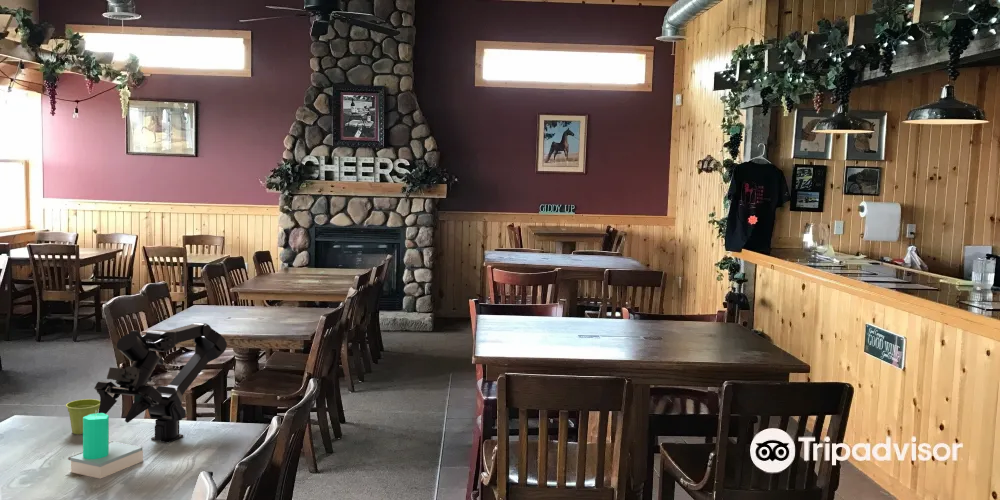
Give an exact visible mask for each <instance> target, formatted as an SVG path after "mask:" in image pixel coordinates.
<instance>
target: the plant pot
mask: <svg viewBox="0 0 1000 500" xmlns="http://www.w3.org/2000/svg"><path fill="white" fill-rule="evenodd" d="M99 406H100V399H96V398H95V399H94V398H86V399H85V398H84V399H82V398H81V399H76V400H72V401H69V402H68V403H66V404H65V408H67V412H68V414H69V419H70V427H71V433H72V434H74V435H83V417H85V416H87V415H90V414H96V413H98V412H99Z"/></svg>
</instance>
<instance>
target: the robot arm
mask: <svg viewBox="0 0 1000 500" xmlns="http://www.w3.org/2000/svg"><path fill="white" fill-rule="evenodd" d="M190 340H192V341H193V343H194V344H195V346H194V354H193V355H192V356H191V357H190V358H189V360H188V361H187V362H186V363H185V365H183V367H182V368H181V369H180V371H178V373H177V374H176V376H175V377H174V378H173V379H172V380H171V382H169V384H167V386H166V385H165V386H164V385H158V386H157V387H154V386H153V385H146V384H147V382H148V383H151V382H152V380H153V378H152V377H151V375H152V373H153V372H154V370H155V369H156V366H157V365H164V359H163V355H162V354H158V353H157V352H164V353H165V352H169V351H170V350H172V349H174V348H175V347H176V345H177V344H180V343H183V342H188V341H190ZM227 347H228V342H227V341H226V339H225V337H224V336H222V334H221V333H219V332H218V331H216V330H214V329H213V328H212V327H211V325H209V324H208V323H205V322H193V323H191V324H187V325H184V326H180V327H175V328H173V329H169V330H166V329H150V330H147V331H146V332H145V334H144V335H141V333H140V331H138V330H132V329H131V331H130V332H129V333H128V334H127V333H126V334H125V335H123V336H122V337H121V338H119V339H118V341H117V343H116V349H118V351H119V352H120V353H122V355H124V356H125V358H127V360H129V361H131V362H132V363H131V365H130V366H126V367H125V368H120V367H112V366H111V367H109V369H108V372H107V376H106V379H107V380H110V381H107V380H100V381H97V383H96V385H94V387H93V389H94V390H95V391H96V393H97V394H98V395H99V398H100V399H99V400H100V406H99V409H98V413H104V414H106V415H107V414H108V412H109V411H110V410H111V409H112V407H114V406H115V404H116V403H117V402H118V400H117V399H118V398H119V397H120V396H121V395H122V396H130V397H131V396H132V397H133V403H132V405H131V407H130V408H129V410H128V412H127V414H126V417H125V420H124V422H126V423H127V424H128V423H130V422H131V421H133V420H134V419H135V418H137V417H138V416H139V415H140V414H142V413H143V412H145V411H146V410H147V411H148V414H149V418H150V419H153V420H155V425H154V436H152V437H151V438H150V440H152V441H156V442H161V443H171V442H174V441H176V440H179V439H181V438H183V437H184V434H181V433H180V421H182V420H183V419H184V418H185V417H186V414H187V410H186V409H185V408H184V407H183V406H182V403H183V395H184V393H185V392H186V391H187V389H189V387H190V386H191V385H192V383H193V382H194V380H196V379H197V377H198V376H199V375H200V374H201V372H202V371H203V369H205V368H206V366H207V364H209V363H210V362H212V361H215V360H217V359H219V358H220V356H222V355H223V354H224V353H225V351H226V349H227ZM155 351H156V352H155ZM111 380H113V381H115V383H116V384H117V385H118V386H117V385H116V384H115V383H114V382H112V381H111Z"/></svg>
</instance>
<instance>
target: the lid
mask: <svg viewBox="0 0 1000 500" xmlns="http://www.w3.org/2000/svg"><path fill="white" fill-rule="evenodd" d="M141 450H143V446H139V445H133V444H129V443H124V442H123V443H122V442H120V441H119V442H118V441H110V442H109V454H108V455H107V456H106V457H103V458H98V459H86V458H84V457H83V451H82V452H80V453H76V454H74V455H71V456H69V457H68V458H67V460H68V461H70V462H71V461H75V462H79V463H84V464H88V465H93V466H97V467H101V466H104V465H106V464H109V463H111V462H114V461H116V460H119V459H121V458H124V457H126V456H129V455H131V454H134V453H136V452H139V451H141Z"/></svg>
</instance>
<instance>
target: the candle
mask: <svg viewBox="0 0 1000 500" xmlns="http://www.w3.org/2000/svg"><path fill="white" fill-rule="evenodd" d="M109 419H110V418H109V415H108V414H107V413H106V414H104V413H96V414H90V415H87V416H85V417H83V433H82V452H83V457H84V458H86V459H98V458H103V457H106V456H107V455H108V454H109V441H110V440H109V438H110V436H109V435H110V433H109V432H110V431H109V430H110V427H109V426H110V425H109V424H110V423H109Z"/></svg>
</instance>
